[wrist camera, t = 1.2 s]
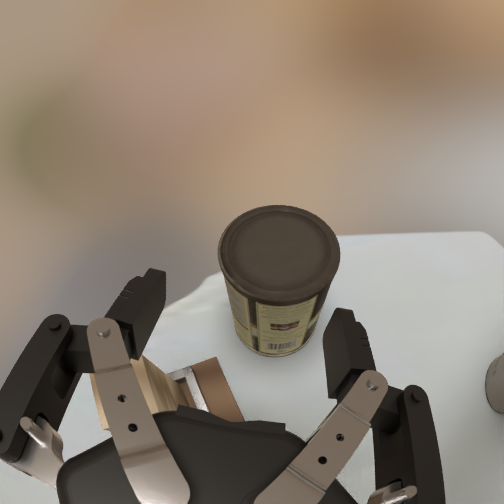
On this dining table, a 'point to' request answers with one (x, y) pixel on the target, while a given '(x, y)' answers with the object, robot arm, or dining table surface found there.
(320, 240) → the coffee can
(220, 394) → the board
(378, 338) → the dining table surface
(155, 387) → the birch block
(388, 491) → the robot arm
